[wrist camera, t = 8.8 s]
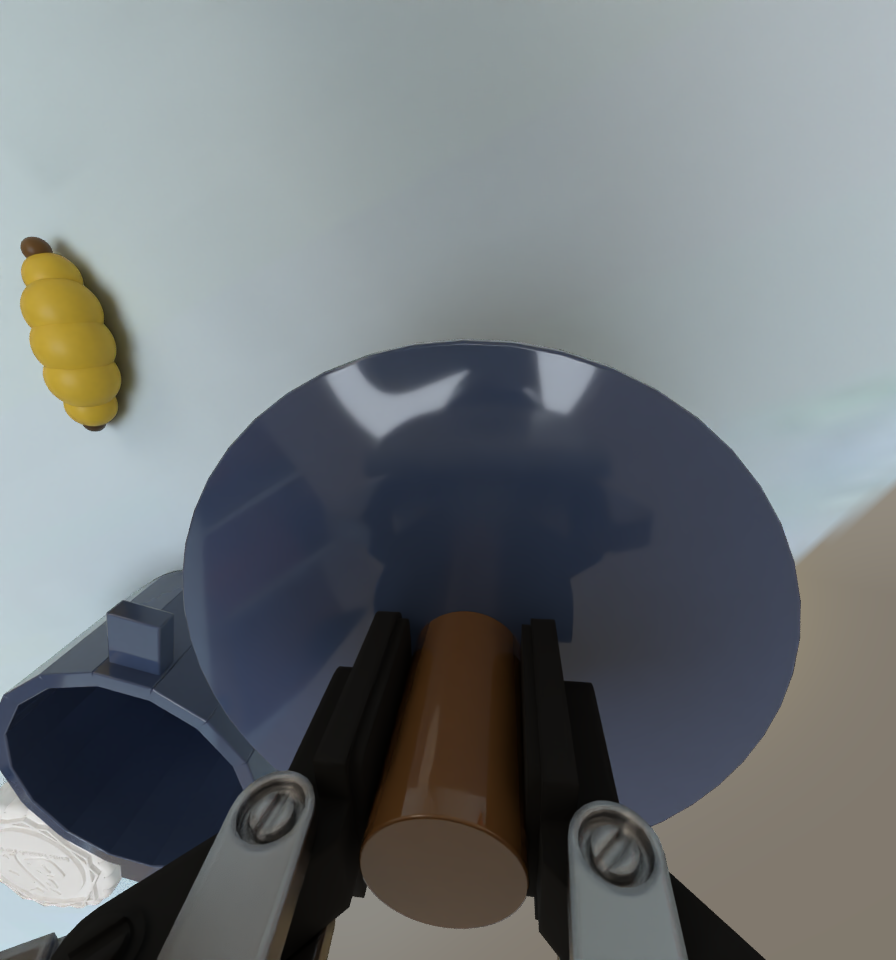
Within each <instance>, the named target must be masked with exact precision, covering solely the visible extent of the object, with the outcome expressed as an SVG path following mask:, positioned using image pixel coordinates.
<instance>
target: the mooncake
mask: <svg viewBox="0 0 896 960" xmlns="http://www.w3.org/2000/svg"><path fill="white" fill-rule="evenodd" d="M121 879H122V877H121V867H120V865H117V864H113V863H110V862H107V861H105V860H103V859H101V858H99V857H97V856H96V855H94V854H92V853H90V852H88V851H86V850H84V849H83V848H81V847H79V846H77V845H75V844H73V843H71V842H70V841H68V840H66V839H64V838H62V837H61V836H60V835H58V834H57V833H56V832H55V831H54V830H53V829H51V828H50V827H49V826H48V825H47V824H46V823H44V822H43V821H42V820H41V819H40V818H39V817H37V816H36V815H35V814H34V813H33V812H32V811H31V810H29V809H28V808H27V807H26V806H25V805H24V804H23V803H22V802H21V801H20V799H19V798H18V796H17V795H16V793H15V792H14V790H13V789H12V787H11V786H10V784H9V783H8V781H7V782H6V783H5V784H4V785H3V786H2V787H1V788H0V882H2V883H4V884H5V885H7V886H8V887H9V888H10V889H12V890H13V891H14V892H15V893H16V894H18V895H19V896H20V897H21V898H22V899H28V900H34V901H36V902H38V903H39V904H41V905H43V906H54V905H55V906H58V907H67V906H72V907H75V908H84V907H85V906H87V905H97V904H99V903H100V902H101V901H102V900H103V899H104V898H107V897H109V896H110V895H111V894H112V892H113V891H114V889H115V888H116V886H117V885H118V883H119V882H120V880H121Z"/></svg>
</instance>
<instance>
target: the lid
mask: <svg viewBox="0 0 896 960" xmlns="http://www.w3.org/2000/svg"><path fill="white" fill-rule="evenodd" d="M182 581H183V600H184V610H185V616H186V621H187V626H188V631H189V636H190V640H191V642H192V645H193V648H194V651H195V654H196V657H197V660H198V663H199V666H200V668H201V670H202V672H203V674H204V676H205V678H206V680H207V682H208V684H209V687H210V689H211V691H212V693H213V695H214V696H215V698H216V699H217V701H218V702H219V704H220V705H221V707H222V708H223V710H224V712H225V713H226V715H227V716H228V718H229V719H230V721H231V722H232V723H233V724H234V726H235V727H236V728H237V729H238V730H239V732H240V733H241V734H242V735H243V737H244V738H245V739H246V740H247V741H248V743H249V744H250V745H251V746H252V747H253V748H254V749H255V750H256V751H257V752H258V753H259V754H260V755H261V756H262V757H263V758H264V759H265V760H266V761H267V762H268V763H269V764H270V765H271V766H272V767H274V768H275V769H276V770H277V771H286V770H288V769H289V767H290V765H291V763H292V761H293V759H294V756H295V754H296V752H297V750H298V748H299V746H300V744H301V742H302V739H303V737H304V735H305V733H306V731H307V729H308V727H309V725H310V723H311V720H312V718H313V716H314V714H315V712H316V710H317V708H318V706H319V704H320V701H321V699H322V697H323V695H324V693H325V691H326V689H327V687H328V685H329V682H330V680H331V678H332V676H333V674H334V672H335V671H336V669H337V668H338V667H339V666H344V667H353V665H354V663H355V660H356V658H357V656H358V653H359V651H360V649H361V646H362V644H363V642H364V639H365V637H366V635H367V632H368V630H369V628H370V625H371V623H372V621H373V618H374V616H375V614H376V612H377V611H390V612H400V613H401V615H402V618H406V619H409V623H410V636H411V650H412V659H411V663H410V666H409V670H408V674H407V677H406V681H405V685H404V688H403V692H402V696H401V699H400V703H399V707H398V710H397V714H396V718H395V721H394V725H393V729H392V732H391V736H390V740H389V743H388V747H387V751H386V754H385V758H384V762H383V765H382V769H381V773H380V776H379V780H378V784H377V787H376V791H375V795H374V798H373V802H372V806H371V809H370V813H369V817H368V820H367V824H366V828H365V831H364V835H363V839H362V842H361V846H360V850H359V867H360V871H361V875H362V877H363V879H364V881H365V883H366V884H367V886H368V888H369V889H370V890H371V891H372V892H373V894H375V896H376V897H378V899H380V900H381V901H382V902H383V903H384V904H386V905H387V906H389V907H390V908H392V909H393V910H395V911H396V912H398V913H400V914H402V915H404V916H406V917H408V918H411V919H413V920H416V921H419V922H422V923H425V924H429V925H433V926H438V927H444V928H454V929H469V928H478V927H484V926H488V925H492V924H495V923H497V922H500V921H502V920H504V919H506V918H508V917H510V916H511V915H512V914H513V913H515V912H516V911H517V910H518V909H519V908H520V907H521V906H522V904H523V902H524V901H525V899H526V896H527V894H528V891H529V885H530V877H529V850H528V838H527V834H526V819H525V788H524V757H523V726H522V694H521V663H520V660H521V627H522V624H525V625H530V622H531V618H534V619H554V620H555V623H556V630H557V637H558V644H559V651H560V658H561V665H562V671H563V678H564V681H577V682H591V683H592V685H593V688H594V691H595V696H596V700H597V705H598V709H599V714H600V718H601V723H602V727H603V732H604V736H605V741H606V745H607V750H608V754H609V759H610V764H611V768H612V773H613V777H614V782H615V786H616V791H617V795H618V800H619V804H622V805H625V806H626V807H628V808H630V809H631V810H633V811H635V812H636V813H638V814H639V815H640V816H641V817H642V818H643V819H644V820H645V821H646V822H647V823H648V824H649V825H650V826H653V825H656V824H658V823H661V822H663V821H665V820H667V819H668V818H670V817H672V816H674V815H675V814H677V813H679V812H680V811H682V810H684V809H686V808H688V807H689V806H691V805H693V804H694V803H696V802H697V801H698V800H700V799H701V798H702V797H704V796H705V795H706V794H708V793H709V792H710V791H712V790H713V789H714V788H716V787H717V786H719V785H720V784H721V783H722V782H723V781H724V780H725V779H726V778H727V777H728V776H729V775H730V774H731V773H732V772H733V771H734V770H735V769H736V768H737V767H738V766H740V765H741V764H742V763H743V762H744V760H745V759H746V758H747V756H748V755H749V754H750V753H751V751H752V750H753V749H754V748H755V746H756V745H757V744H758V742H759V741H760V740H761V739H762V737H763V736H764V735H765V733H766V731H767V729H768V728H769V726H770V724H771V722H772V721H773V719H774V717H775V715H776V714H777V712H778V710H779V708H780V707H781V704H782V702H783V699H784V696H785V694H786V691H787V688H788V686H789V683H790V680H791V678H792V675H793V671H794V667H795V661H796V656H797V651H798V645H799V641H800V608H801V600H800V594H799V588H798V582H797V575H796V570H795V563H794V559H793V556H792V553H791V551H790V548H789V545H788V542H787V539H786V536H785V533H784V530H783V527H782V524H781V522H780V520H779V518H778V517H777V515H776V513H775V511H774V509H773V507H772V506H771V504H770V502H769V500H768V498H767V497H766V495H765V493H764V491H763V489H762V487H761V486H760V484H759V483H758V482H757V480H756V479H755V478H754V477H753V475H752V474H751V473H750V472H749V470H748V469H747V468H746V466H745V465H744V464H743V463H742V461H741V460H740V459H739V457H738V456H737V455H736V454H735V452H734V451H733V450H732V449H731V448H730V447H729V446H728V445H727V444H726V443H725V442H724V441H722V440H721V439H720V438H719V437H718V436H717V435H716V434H715V433H714V432H713V431H712V430H711V429H710V428H708V427H707V426H706V425H705V424H704V423H703V422H702V421H701V420H700V419H699V418H698V417H696V416H695V415H693V414H692V413H690V412H689V411H687V410H686V409H684V408H683V407H682V406H680V405H679V404H677V403H676V402H674V401H673V400H671V399H670V398H668V397H667V396H666V395H664V394H663V393H661V392H660V391H658V390H657V389H655V388H653V387H651V386H649V385H647V384H645V383H643V382H641V381H639V380H637V379H635V378H633V377H631V376H629V375H627V374H625V373H623V372H621V371H619V370H617V369H615V368H613V367H611V366H609V365H606V364H603V363H600V362H597V361H594V360H591V359H588V358H585V357H582V356H579V355H576V354H573V353H570V352H567V351H564V350H561V349H555V348H550V347H544V346H539V345H533V344H528V343H522V342H517V341H508V340H486V339H454V340H443V341H432V342H421V343H414V344H410V345H406V346H402V347H397V348H393V349H389V350H385V351H380V352H376V353H372V354H369V355H366V356H364V357H361V358H359V359H356V360H354V361H351V362H349V363H346V364H343V365H341V366H338V367H336V368H333V369H331V370H328V371H326V372H323V373H322V374H320V375H318V376H316V377H315V378H313V379H311V380H309V381H308V382H306V383H304V384H302V385H301V386H299V387H297V388H295V389H294V390H292V391H290V392H288V393H287V394H285V395H284V396H283V397H282V398H280V399H279V400H278V401H277V402H275V403H274V404H273V405H272V406H270V407H269V408H268V409H267V410H265V411H264V412H263V413H262V414H260V415H259V416H258V417H257V418H255V419H254V420H253V421H252V422H251V424H250V425H249V426H248V427H247V428H246V429H245V430H244V431H243V432H242V433H241V434H240V436H239V437H238V438H237V439H236V440H235V441H234V442H233V443H232V444H231V445H230V447H229V448H228V449H227V451H226V452H225V454H224V455H223V457H222V458H221V460H220V461H219V463H218V464H217V466H216V468H215V469H214V471H213V472H212V474H211V475H210V477H209V478H208V481H207V483H206V485H205V487H204V490H203V492H202V494H201V496H200V499H199V501H198V503H197V505H196V508H195V510H194V513H193V517H192V521H191V524H190V528H189V532H188V536H187V539H186V543H185V553H184V563H183V573H182Z"/></svg>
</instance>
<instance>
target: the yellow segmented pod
mask: <svg viewBox="0 0 896 960" xmlns="http://www.w3.org/2000/svg"><path fill="white" fill-rule="evenodd" d="M21 251H22V253H23V254H24V256H25V257H26V260H25V261H24V262H23V264H22V268H21V275H22V279H23V281H24V283H25V285H26V286H27V287H26V288H25V289H24V291H23V293H22V295H21V299H20V307H21V312H22V315H23V317H24V319H25V321H26V322H27V324H28V325H29V326H30V327H31V332H30V345H31V349H32V351H33V353H34V355H35V357H36V358H37V359H38V361H39V362H40V363H41V364H42V365H43V366H44V367H43V377H44V381H45V383H46V385H47V387H48V389H49V390H50V391H51V392H52V394H53V395H55V396H56V397H57V398H58V399H60V400H61V401H63V404H64V408H65V411H66V412H67V414H68V415H69V416H70V417H71V418H72V419H73V420H74V421H76V422H78V423H80V424H83V426H84V427H85V428H86V429H88V430H90V431H100V430H102V429H103V428H104V427H105V426H106V423H108V422H110V421H111V420H112V419H113V418H114V417H115V415H116V414H117V411H118V402H117V399H116V397H115V396H116V395H117V393H118V392H119V389H120V386H121V374H120V371H119V369H118V367H117V365H116V363H115V362H114V360H115V357H116V344H115V340H114V338H113V336H112V334H111V332H110V331H109V329H108V328H107V327H106V326H105V325H104V313H103V309H102V306H101V304H100V302H99V300H98V299H97V297H96V296H95V295H94V294H93V293H92V292H91V291H90V290H89V289H88V288H86V287H85V286H83V278H82V275H81V273H80V271H79V270H78V268H77V267H76V266H75V265H74V264H73V263H72V262H71V261H69V260H68V259H66V258H65V257H63V256H61V255H58V254H55V253H53V251H52V248H51V247H50V245H49V244H48V243H47V242H45V241H44V240H42V239H40V238H37V237H27V238H25V239H24V240H23V241H22V242H21Z"/></svg>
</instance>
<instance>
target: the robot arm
mask: <svg viewBox="0 0 896 960" xmlns="http://www.w3.org/2000/svg"><path fill="white" fill-rule="evenodd" d="M411 659H412V650H411V636H410V623H409V619H406V618H402V615H401V613H400V612H390V611H377V612H376V614H375V616H374V618H373V621H372V623H371V625H370V628H369V630H368V632H367V635H366V637H365V639H364V642H363V644H362V646H361V649H360V651H359V653H358V656H357V658H356V660H355V663H354V665H353V667H344V666H339V667H338V668H337V669H336V671H335V672H334V674H333V676H332V678H331V680H330V682H329V685H328V687H327V689H326V691H325V693H324V695H323V697H322V699H321V701H320V704H319V706H318V708H317V710H316V712H315V714H314V716H313V718H312V720H311V723H310V725H309V727H308V729H307V731H306V733H305V735H304V737H303V739H302V742H301V744H300V746H299V748H298V750H297V752H296V754H295V756H294V759H293V761H292V763H291V765H290V767H289V769H288V770H286V771H277V772H273V773H270V774H267V775H265V776H262V777H260V778H259V779H257V780H256V781H254V782H253V783H251V784H250V785H249V786H248V787H247V788H246V789H245V790H244V791H243V792H242V793H241V794H240V795H239V796H238V797H237V799H236V800H235V802H234V803H233V805H232V806H231V808H230V810H229V812H228V814H227V816H226V818H225V820H224V822H223V824H222V826H221V829H220V831H219V832H218V833H217V834H215V835H214V836H212V837H210V838H209V839H207V840H206V841H204V842H202V843H201V844H199V845H198V846H196V847H194V848H193V849H191V850H189V851H188V852H186V853H185V854H183V855H181V856H180V857H178V858H177V859H175V860H173V861H172V862H170V863H169V864H167V865H165V866H164V867H162V868H161V869H159V870H157V871H156V872H154V873H153V874H151V875H149V876H148V877H146V878H145V879H143V880H141V881H140V882H138V883H137V884H135V885H133V886H132V887H130V888H129V889H127V890H125V891H124V892H122V893H121V894H119V895H117V896H116V897H114V898H113V899H111V900H109V901H108V902H106V903H105V904H103V905H101V906H100V907H98V908H97V909H96V910H94V911H93V912H92V913H90V914H89V915H88V916H86V917H85V918H84V919H82V920H81V921H80V922H79V923H78V924H77V926H76V927H75V928H74V929H73V930H72V931H71V932H70V933H69V934H68V935H67V936H64V937H61V938H57V936H56V935H55V933H51V934H48V935H45V936H42V937H40V938H37V939H34V940H31V941H29V942H26V943H23V944H20V945H18V946H15V947H12V948H9V949H7V950H4V951H1V952H0V960H327V958H328V954H329V949H330V945H331V940H332V935H333V932H334V926H335V918H337V917H338V916H339V915H340V914H341V913H343V912H344V911H345V910H346V909H347V908H349V906H350V902H351V899H352V896H355V897H362V898H364V896H365V892H366V888H367V884H366V883H365V881H364V879H363V877H362V875H361V871H360V867H359V850H360V846H361V842H362V839H363V835H364V831H365V828H366V824H367V820H368V817H369V813H370V809H371V806H372V802H373V798H374V795H375V791H376V787H377V784H378V780H379V776H380V773H381V769H382V765H383V762H384V758H385V754H386V751H387V747H388V743H389V740H390V736H391V732H392V729H393V725H394V721H395V718H396V714H397V710H398V707H399V703H400V699H401V696H402V692H403V688H404V685H405V681H406V677H407V674H408V670H409V666H410V663H411ZM520 663H521V694H522V726H523V757H524V788H525V819H526V834H527V838H528V850H529V877H530V885H529V891H528V894H527V896H531V897H534V901H535V919H536V920H538V921H539V932H540V933H541V935H542V936H543V937H544V938H545V940H546V941H547V942H548V944H549V945H550V946H551V947H552V948H553V950H554V951H555V953H556V954H557V955H558V960H765V959H764V958H763V957H762V956H761V955H760V954H759V953H758V952H757V951H756V950H754V949H753V948H752V947H751V946H750V945H749V944H748V943H747V942H746V941H745V940H743V939H742V938H741V937H740V936H739V935H738V934H737V933H736V932H735V931H734V930H732V929H731V928H730V927H729V926H728V925H727V924H726V923H725V922H723V920H721V919H720V918H719V917H718V916H717V915H716V914H715V913H714V912H713V911H711V910H710V909H709V908H708V907H707V906H706V905H705V904H704V903H703V902H702V901H700V900H699V899H698V898H697V897H696V896H695V895H694V894H693V893H692V892H690V890H688V889H687V888H686V887H685V886H684V885H683V884H682V883H681V882H679V881H678V880H677V879H676V878H675V877H674V876H673V875H672V874H671V873H670V872H669V871H668V867H667V863H666V858H665V853H664V851H663V849H662V845H661V843H660V840H659V838H658V836H657V835H656V833H655V832H654V830H653V829H652V828H651V826H650V825H649V824H648V823H647V822H646V821H645V820H644V819H643V818H642V817H641V816H640V815H639V814H638V813H636V812H635V811H633V810H631V809H630V808H628V807H626V806H625V805H622V804H619V800H618V795H617V791H616V786H615V782H614V777H613V773H612V768H611V764H610V759H609V754H608V750H607V745H606V741H605V736H604V732H603V727H602V723H601V718H600V714H599V709H598V705H597V700H596V696H595V691H594V688H593V685H592V683H591V682H577V681H564V678H563V671H562V665H561V658H560V651H559V644H558V637H557V630H556V623H555V620H554V619H534V618H531V622H530V625H525V624H522V627H521V660H520Z"/></svg>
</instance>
